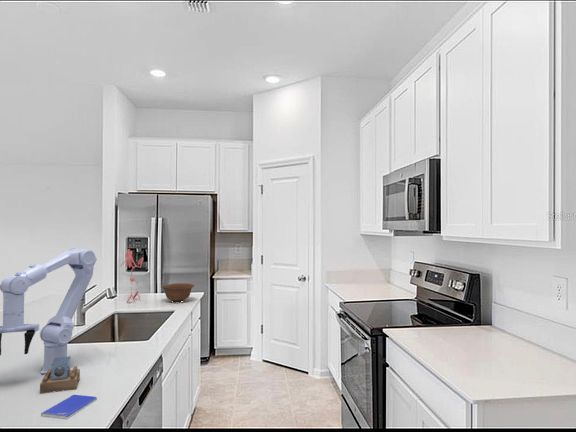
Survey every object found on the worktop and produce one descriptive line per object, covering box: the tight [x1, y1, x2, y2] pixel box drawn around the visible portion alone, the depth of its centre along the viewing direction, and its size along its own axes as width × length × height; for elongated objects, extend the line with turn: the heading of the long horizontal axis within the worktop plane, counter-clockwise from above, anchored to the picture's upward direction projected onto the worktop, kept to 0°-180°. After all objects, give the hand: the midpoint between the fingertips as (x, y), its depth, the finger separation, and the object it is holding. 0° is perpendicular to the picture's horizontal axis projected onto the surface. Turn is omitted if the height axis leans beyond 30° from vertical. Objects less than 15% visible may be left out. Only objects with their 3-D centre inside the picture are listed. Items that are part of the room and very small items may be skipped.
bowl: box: [160, 282, 195, 302], centre depth 276 cm, size 22×22×11 cm
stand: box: [39, 365, 81, 394], centre depth 134 cm, size 10×10×4 cm
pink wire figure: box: [120, 248, 145, 303], centre depth 276 cm, size 15×26×35 cm, turn 178°
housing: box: [51, 355, 72, 381], centre depth 134 cm, size 7×4×5 cm, turn 20°
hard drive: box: [40, 394, 98, 420], centre depth 118 cm, size 2×8×12 cm
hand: (12, 354), depth 135 cm, fingers open, 7 cm apart
